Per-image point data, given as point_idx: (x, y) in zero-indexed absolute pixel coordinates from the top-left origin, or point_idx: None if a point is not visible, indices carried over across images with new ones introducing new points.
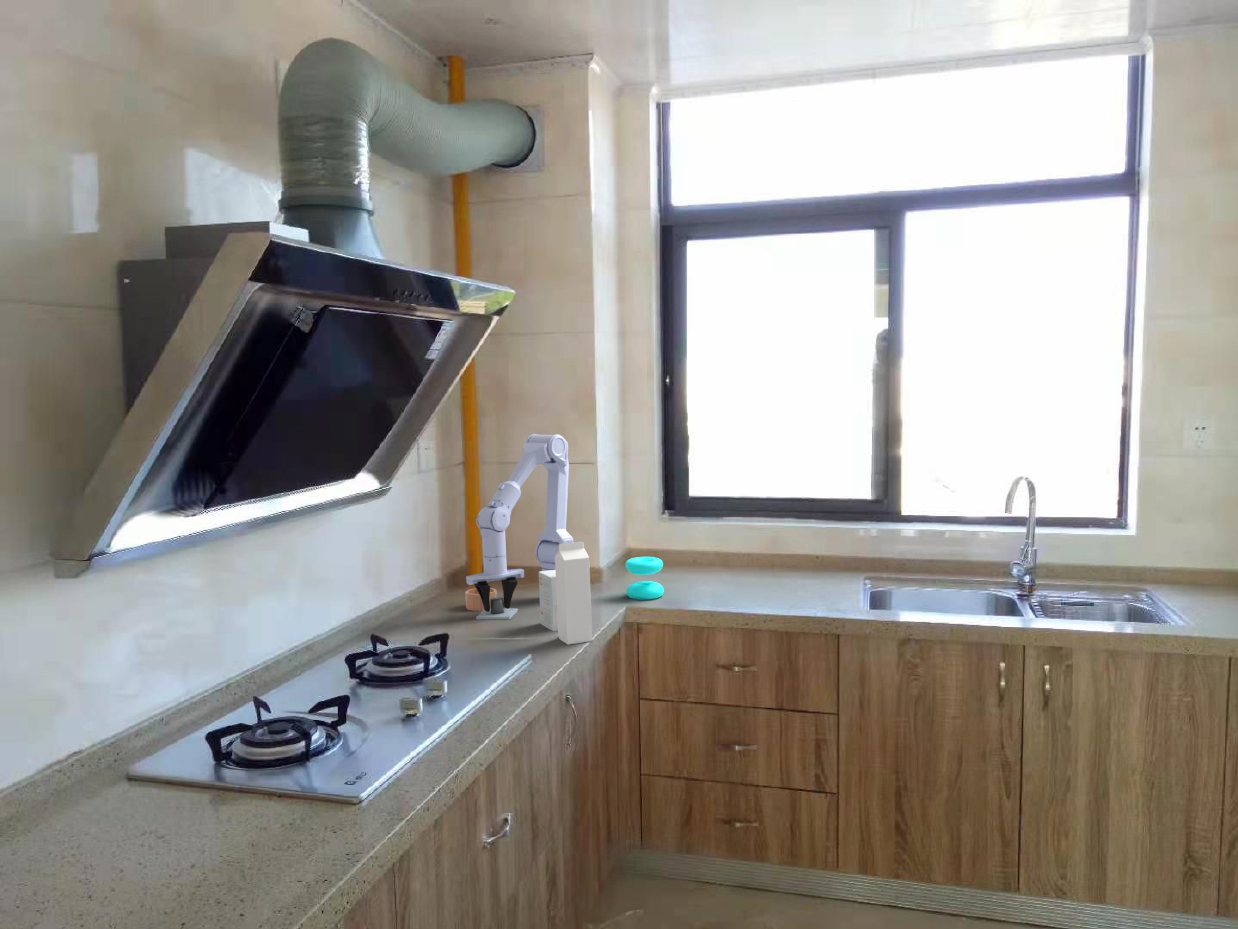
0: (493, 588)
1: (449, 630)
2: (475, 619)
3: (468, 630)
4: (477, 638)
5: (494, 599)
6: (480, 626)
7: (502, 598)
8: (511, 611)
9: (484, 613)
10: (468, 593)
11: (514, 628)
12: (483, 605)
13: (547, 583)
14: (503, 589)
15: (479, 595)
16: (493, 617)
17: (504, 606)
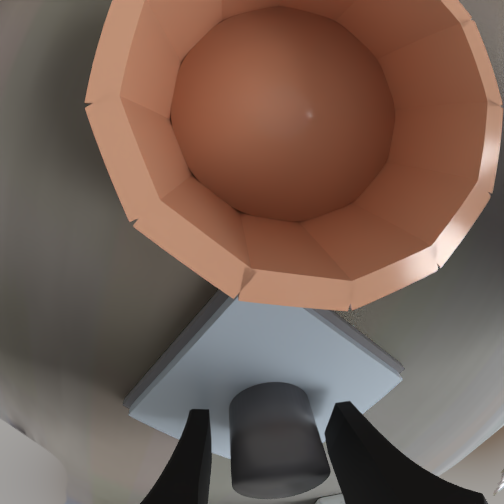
0: (498, 90)
1: (29, 421)
2: (126, 406)
3: (91, 458)
4: (115, 500)
5: (258, 488)
6: (137, 455)
7: (317, 484)
8: None
9: (192, 390)
10: (104, 107)
11: (239, 500)
12: (183, 433)
13: None
14: (384, 492)
15: (222, 282)
16: (212, 450)
17: (336, 408)
